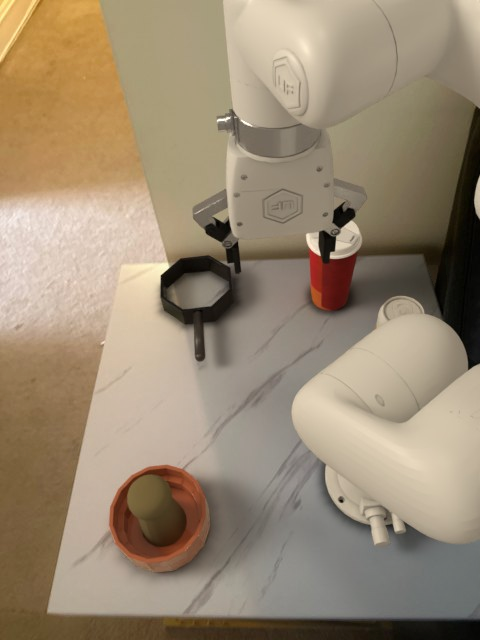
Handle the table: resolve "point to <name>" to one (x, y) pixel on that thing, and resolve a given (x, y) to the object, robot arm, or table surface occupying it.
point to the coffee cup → (333, 268)
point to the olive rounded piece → (156, 510)
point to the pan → (201, 313)
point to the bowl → (129, 528)
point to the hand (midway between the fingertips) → (280, 259)
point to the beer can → (397, 308)
